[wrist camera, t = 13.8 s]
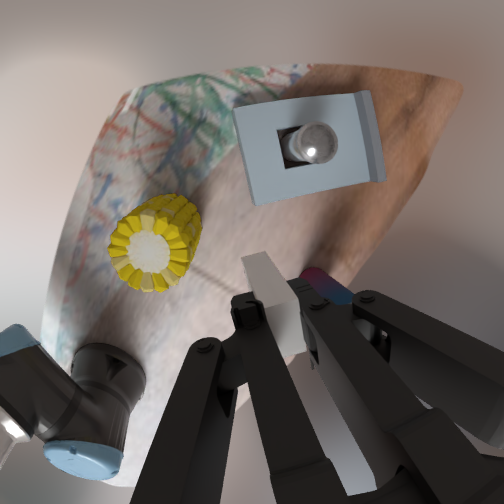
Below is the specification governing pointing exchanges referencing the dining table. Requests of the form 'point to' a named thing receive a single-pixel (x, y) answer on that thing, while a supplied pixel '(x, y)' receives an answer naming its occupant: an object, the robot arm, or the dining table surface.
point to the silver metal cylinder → (310, 143)
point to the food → (156, 242)
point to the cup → (327, 286)
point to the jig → (309, 175)
